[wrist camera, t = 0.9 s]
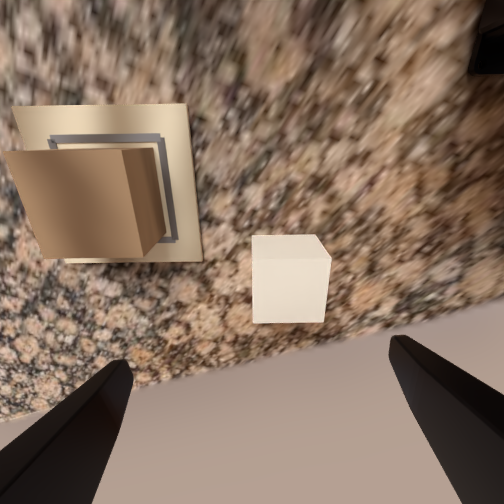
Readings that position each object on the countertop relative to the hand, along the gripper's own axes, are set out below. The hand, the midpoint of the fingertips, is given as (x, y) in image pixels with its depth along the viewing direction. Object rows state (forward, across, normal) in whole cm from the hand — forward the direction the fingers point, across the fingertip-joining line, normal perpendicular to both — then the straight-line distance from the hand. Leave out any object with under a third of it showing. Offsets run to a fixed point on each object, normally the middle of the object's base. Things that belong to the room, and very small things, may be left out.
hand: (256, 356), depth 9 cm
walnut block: (+12, +9, -4) cm, 16 cm away
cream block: (+12, -2, +3) cm, 13 cm away
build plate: (+12, +9, -4) cm, 16 cm away
